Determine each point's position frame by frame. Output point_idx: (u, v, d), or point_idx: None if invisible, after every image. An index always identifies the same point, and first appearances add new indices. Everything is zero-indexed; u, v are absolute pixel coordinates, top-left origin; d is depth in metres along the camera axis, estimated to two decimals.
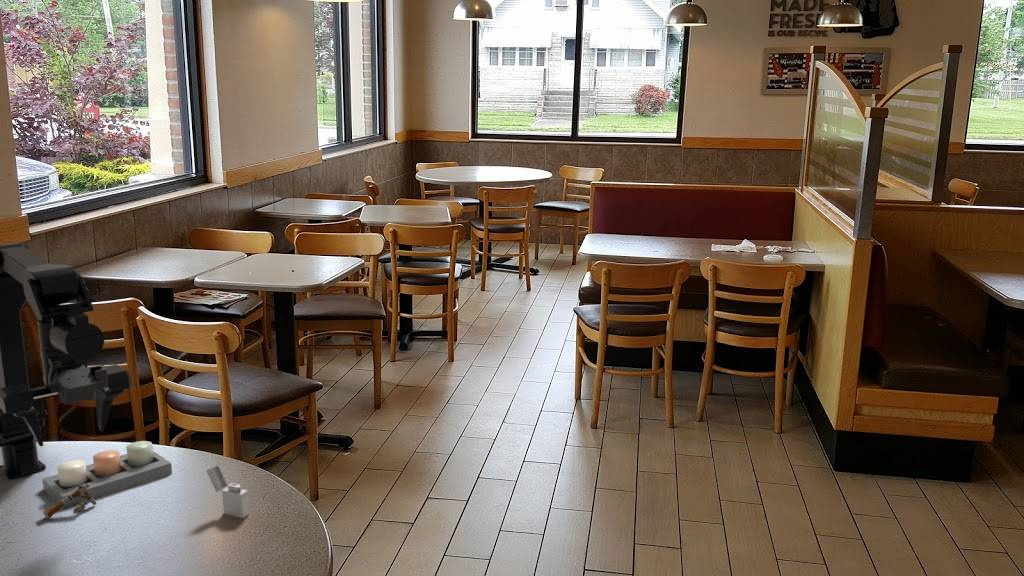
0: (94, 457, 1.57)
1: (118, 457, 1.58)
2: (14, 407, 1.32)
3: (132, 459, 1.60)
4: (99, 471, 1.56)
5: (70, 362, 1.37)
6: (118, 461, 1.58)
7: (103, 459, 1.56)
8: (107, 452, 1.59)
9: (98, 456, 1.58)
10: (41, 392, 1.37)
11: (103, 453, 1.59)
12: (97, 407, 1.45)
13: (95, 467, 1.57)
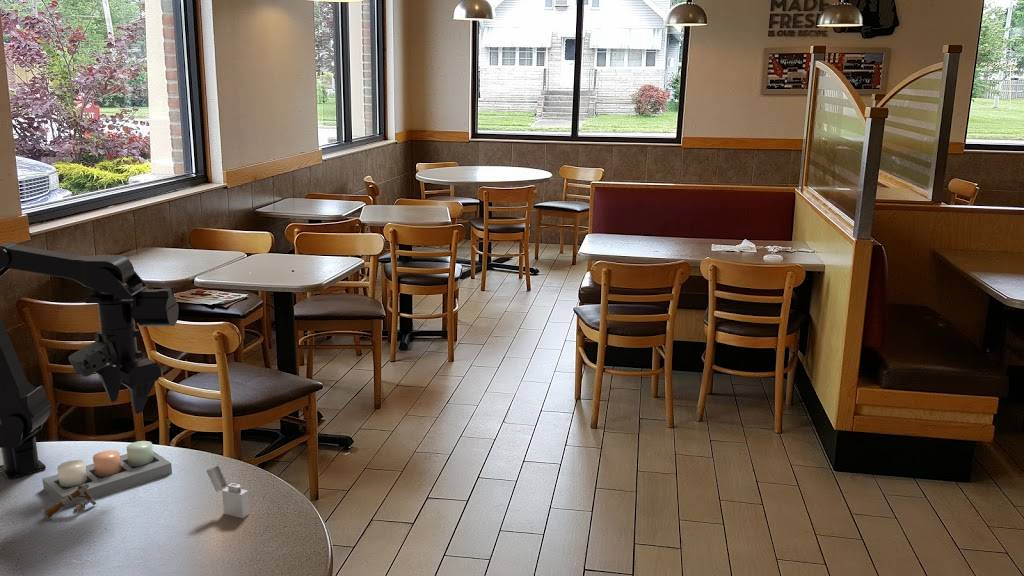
0: (94, 457, 1.57)
1: (118, 457, 1.58)
2: None
3: (132, 459, 1.60)
4: (99, 471, 1.56)
5: (104, 340, 1.56)
6: (118, 461, 1.58)
7: (103, 459, 1.56)
8: (107, 452, 1.59)
9: (98, 456, 1.58)
10: None
11: (103, 453, 1.59)
12: None
13: (95, 467, 1.57)
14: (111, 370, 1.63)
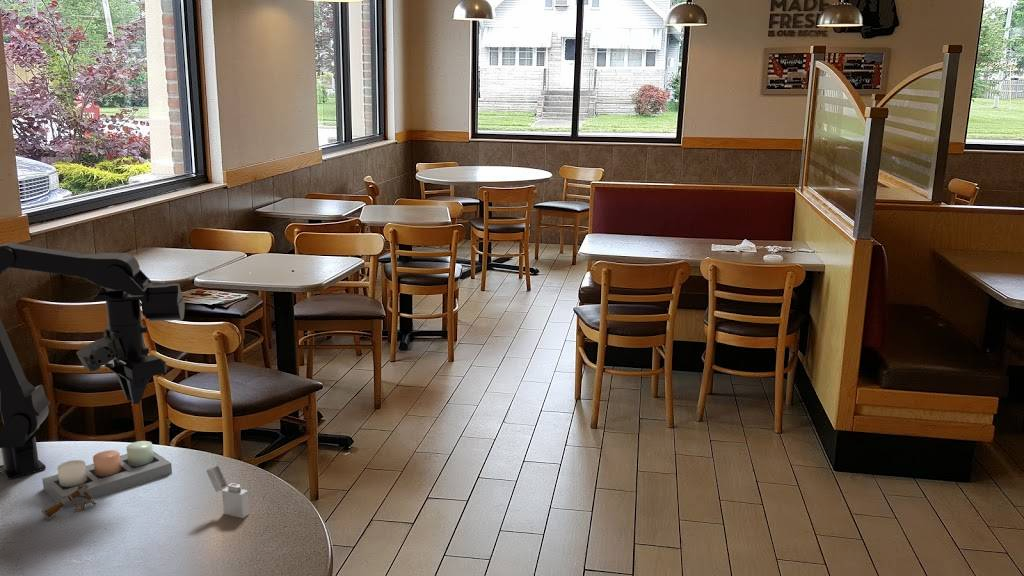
0: (94, 457, 1.57)
1: (118, 457, 1.58)
2: None
3: (132, 459, 1.60)
4: (99, 471, 1.56)
5: None
6: (118, 461, 1.58)
7: (103, 459, 1.56)
8: (107, 452, 1.59)
9: (98, 456, 1.58)
10: None
11: (103, 453, 1.59)
12: None
13: (95, 467, 1.57)
14: None
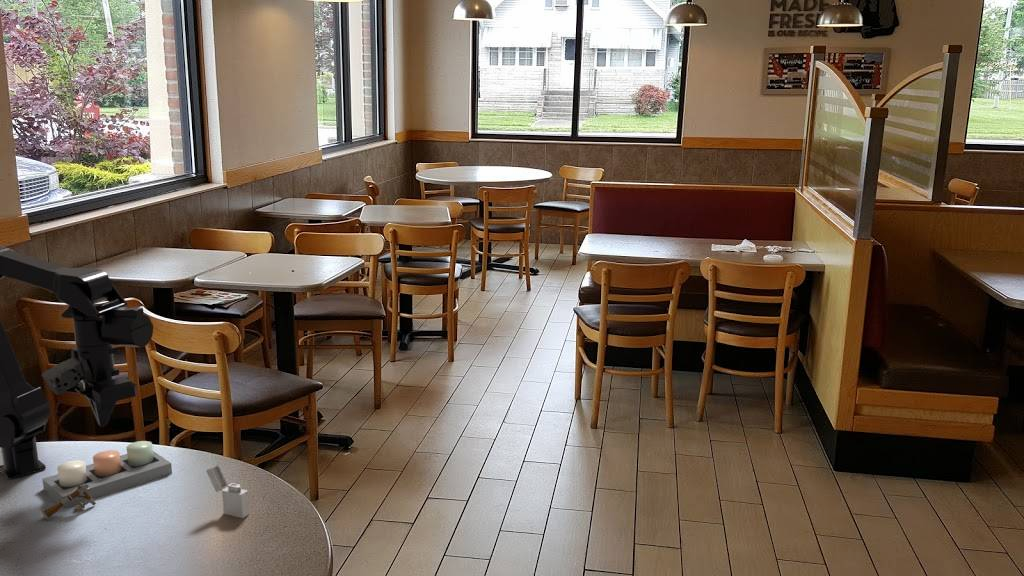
0: (94, 457, 1.57)
1: (118, 457, 1.58)
2: None
3: (132, 459, 1.60)
4: (99, 471, 1.56)
5: None
6: (118, 461, 1.58)
7: (103, 459, 1.56)
8: (107, 452, 1.59)
9: (98, 456, 1.58)
10: None
11: (103, 453, 1.59)
12: None
13: (95, 467, 1.57)
14: None
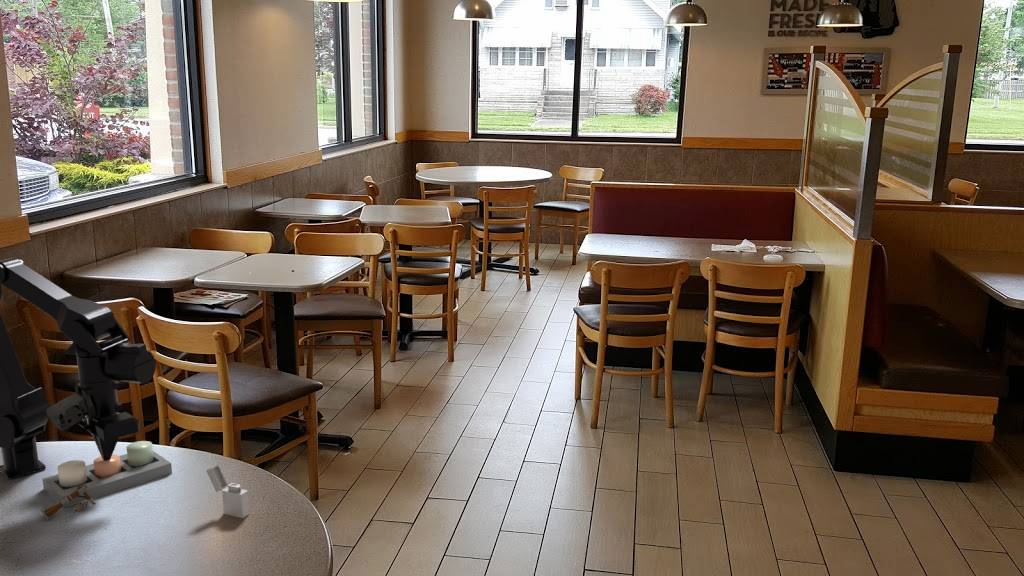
0: (94, 461, 1.57)
1: (118, 461, 1.58)
2: None
3: (132, 459, 1.60)
4: (100, 475, 1.57)
5: None
6: (118, 465, 1.58)
7: (104, 464, 1.56)
8: None
9: (99, 460, 1.58)
10: None
11: None
12: None
13: (96, 471, 1.57)
14: None
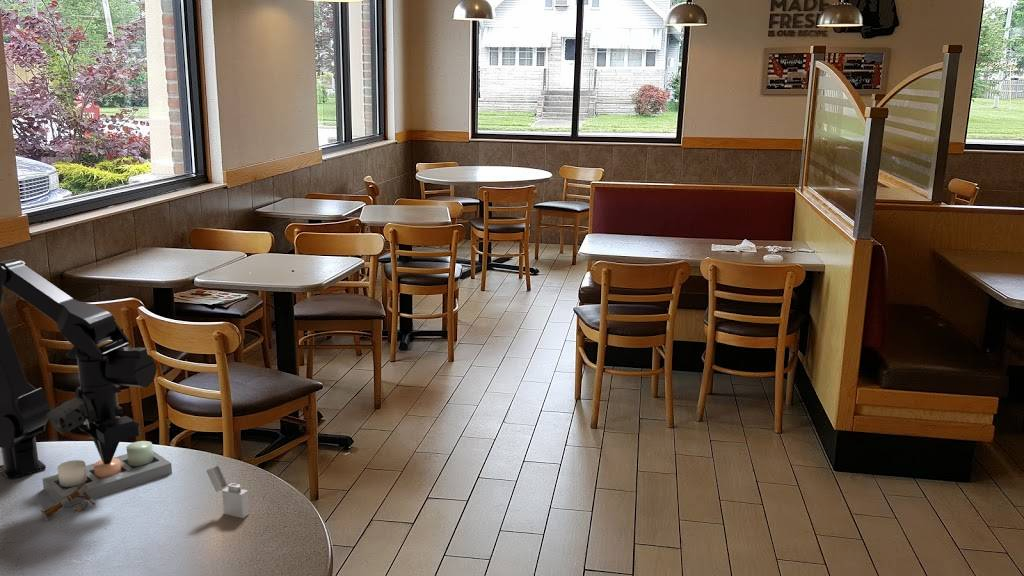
0: (95, 465, 1.57)
1: (119, 465, 1.58)
2: None
3: (132, 459, 1.60)
4: None
5: None
6: (119, 469, 1.58)
7: (104, 467, 1.56)
8: None
9: (99, 463, 1.58)
10: None
11: None
12: None
13: (96, 475, 1.57)
14: None
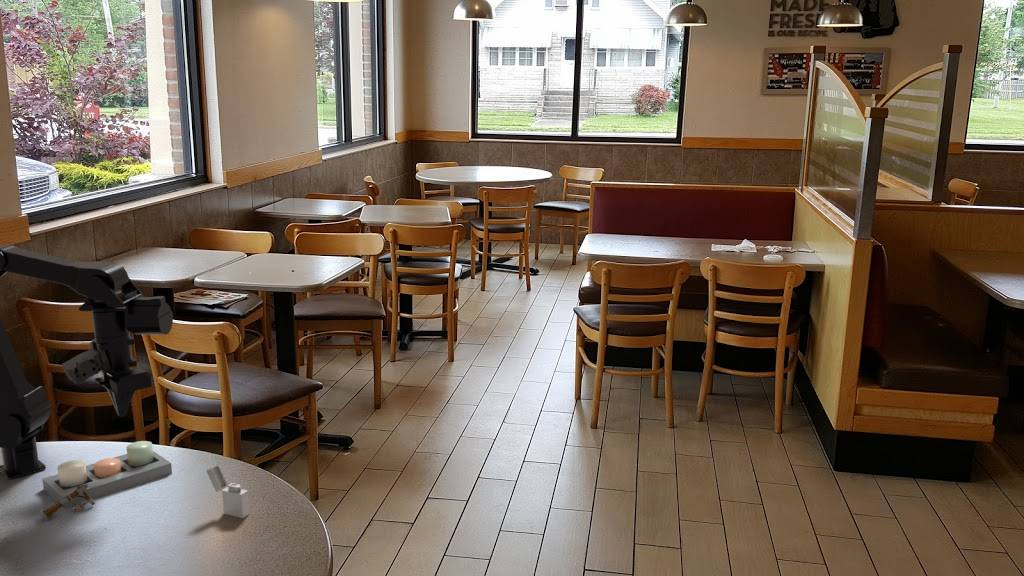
0: (95, 465, 1.57)
1: (119, 465, 1.58)
2: None
3: (132, 459, 1.60)
4: None
5: None
6: (119, 469, 1.58)
7: (104, 467, 1.56)
8: (108, 460, 1.59)
9: (99, 463, 1.58)
10: None
11: (104, 461, 1.59)
12: None
13: (96, 475, 1.57)
14: None
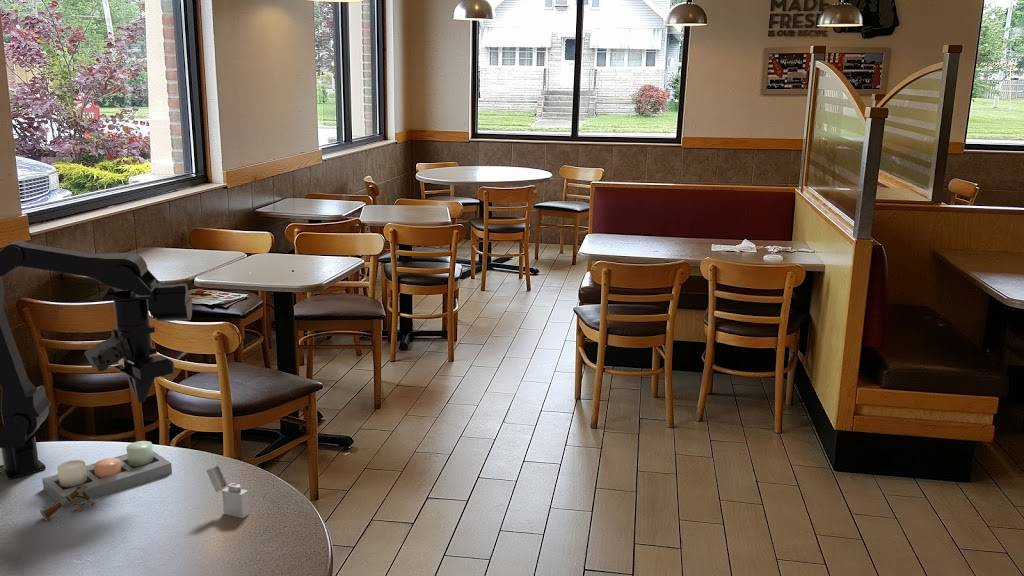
0: (95, 465, 1.57)
1: (119, 465, 1.58)
2: None
3: (132, 459, 1.60)
4: None
5: None
6: (119, 469, 1.58)
7: (104, 467, 1.56)
8: (108, 460, 1.59)
9: (99, 463, 1.58)
10: None
11: (104, 461, 1.59)
12: None
13: (96, 475, 1.57)
14: None
